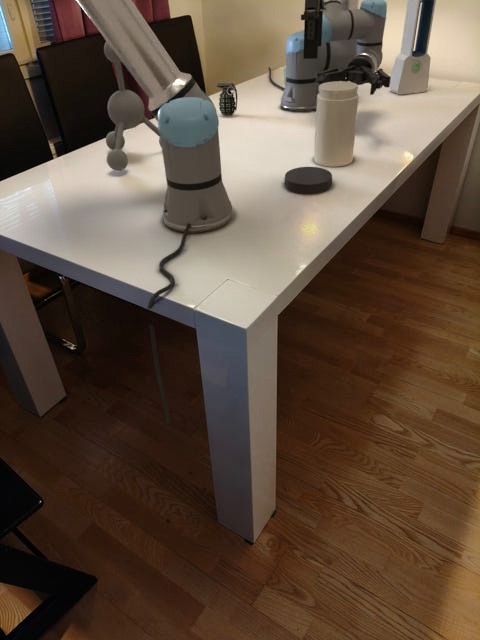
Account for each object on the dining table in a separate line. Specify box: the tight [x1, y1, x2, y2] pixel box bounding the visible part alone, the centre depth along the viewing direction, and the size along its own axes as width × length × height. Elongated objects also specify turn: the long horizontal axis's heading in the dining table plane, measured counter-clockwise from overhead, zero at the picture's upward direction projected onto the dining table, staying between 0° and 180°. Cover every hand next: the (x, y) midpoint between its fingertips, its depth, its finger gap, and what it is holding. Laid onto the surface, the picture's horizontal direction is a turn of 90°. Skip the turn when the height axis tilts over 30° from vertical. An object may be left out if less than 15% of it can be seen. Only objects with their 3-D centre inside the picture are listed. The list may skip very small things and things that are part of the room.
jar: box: [313, 81, 360, 168], centre depth 126 cm, size 10×10×18 cm
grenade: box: [215, 82, 238, 117], centre depth 166 cm, size 7×6×10 cm
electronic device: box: [388, 0, 437, 96], centre depth 174 cm, size 12×8×30 cm, turn 105°
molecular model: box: [103, 41, 162, 172], centre depth 131 cm, size 24×22×30 cm
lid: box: [284, 166, 333, 195], centre depth 118 cm, size 11×11×2 cm
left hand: (312, 52), depth 101 cm, fingers open, 13 cm apart
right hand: (345, 87), depth 127 cm, fingers open, 13 cm apart
